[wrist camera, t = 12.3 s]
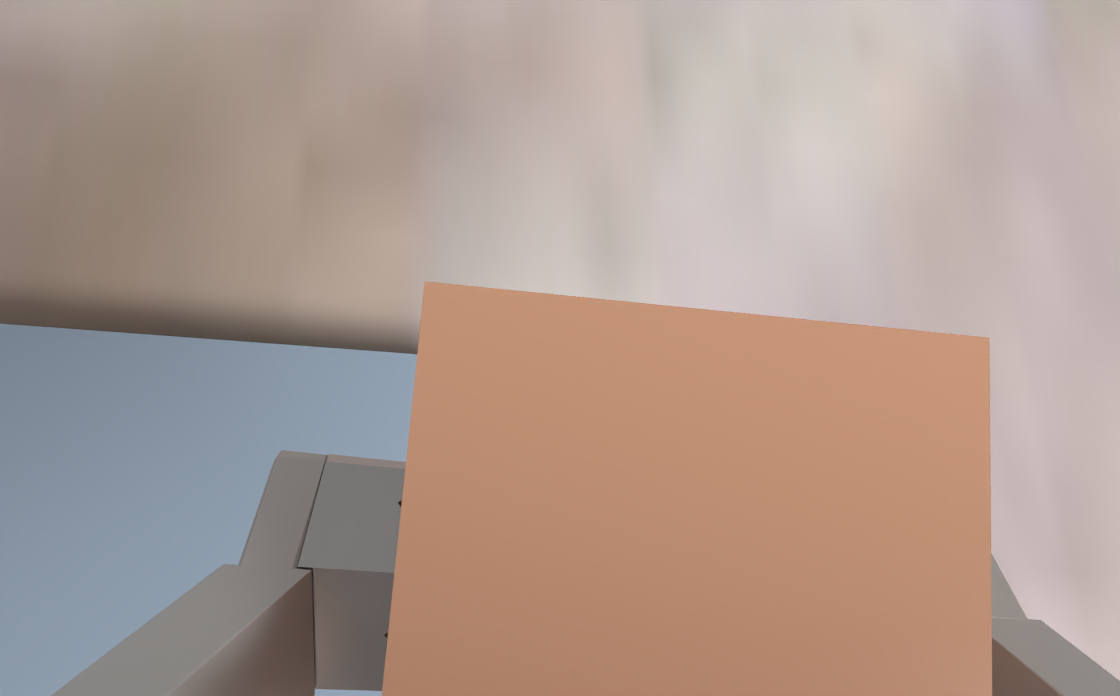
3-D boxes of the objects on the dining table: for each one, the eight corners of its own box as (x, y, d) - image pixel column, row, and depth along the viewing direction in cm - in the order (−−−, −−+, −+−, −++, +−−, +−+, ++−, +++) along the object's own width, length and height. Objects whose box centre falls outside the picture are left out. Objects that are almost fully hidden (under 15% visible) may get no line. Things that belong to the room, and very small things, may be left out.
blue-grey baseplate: (388, 1015, 28) (383, 1040, 26) (-323, 1002, 26) (-371, 1029, 25) (444, 365, 32) (442, 356, 31) (-159, 321, 31) (-190, 309, 29)
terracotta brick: (701, 711, 14) (995, 953, 7) (412, 695, 14) (356, 934, 6) (714, 425, 15) (989, 336, 7) (440, 400, 15) (424, 281, 7)
